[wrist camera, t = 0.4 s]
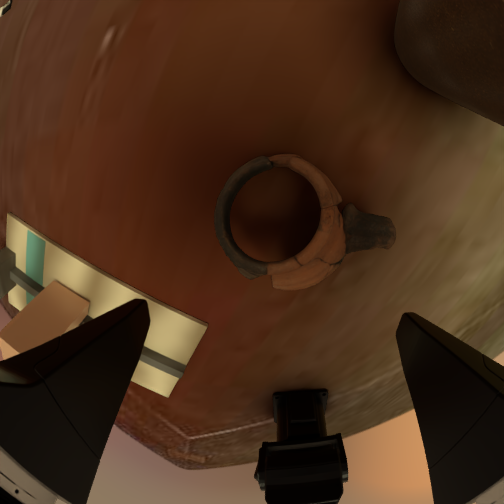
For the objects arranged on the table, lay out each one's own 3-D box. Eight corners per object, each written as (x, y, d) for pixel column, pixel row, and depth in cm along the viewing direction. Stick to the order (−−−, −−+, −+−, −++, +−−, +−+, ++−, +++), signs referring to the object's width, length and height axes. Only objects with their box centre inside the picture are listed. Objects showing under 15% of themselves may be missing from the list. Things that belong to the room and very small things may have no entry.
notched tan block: (89, 302, 25) (37, 366, 16) (84, 338, 28) (43, 398, 19) (53, 280, 25) (-3, 334, 16) (52, 317, 27) (7, 371, 18)
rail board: (208, 324, 26) (194, 373, 21) (168, 394, 32) (156, 434, 26) (10, 212, 23) (-29, 232, 17) (11, 300, 28) (-16, 325, 22)
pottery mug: (249, 284, 25) (202, 294, 17) (248, 179, 26) (203, 147, 18) (389, 283, 21) (408, 295, 13) (382, 169, 21) (393, 126, 14)
